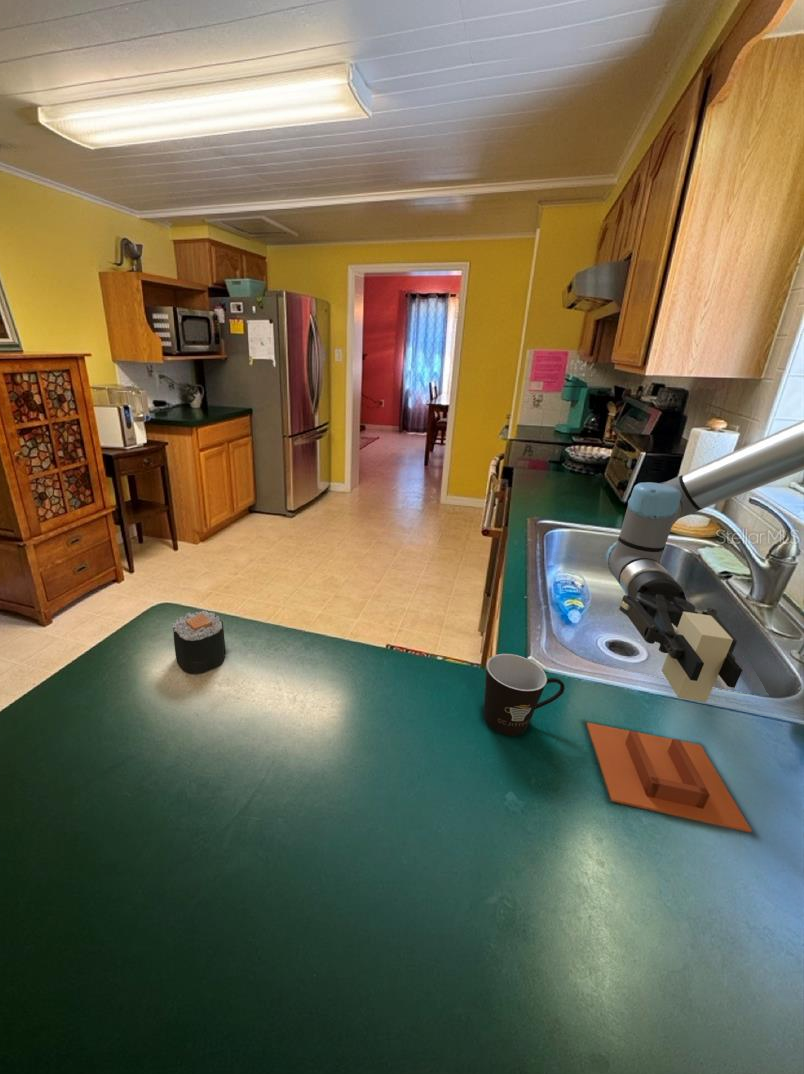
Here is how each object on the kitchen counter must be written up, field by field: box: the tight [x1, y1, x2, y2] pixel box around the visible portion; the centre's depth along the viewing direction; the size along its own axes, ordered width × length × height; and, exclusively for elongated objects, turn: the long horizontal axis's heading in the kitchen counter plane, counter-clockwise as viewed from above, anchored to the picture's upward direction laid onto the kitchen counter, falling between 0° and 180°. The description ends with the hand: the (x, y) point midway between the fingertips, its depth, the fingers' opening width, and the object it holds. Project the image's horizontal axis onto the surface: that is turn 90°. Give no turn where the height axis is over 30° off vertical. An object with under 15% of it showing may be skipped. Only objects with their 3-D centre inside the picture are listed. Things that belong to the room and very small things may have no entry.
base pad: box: [586, 722, 752, 833], centre depth 65 cm, size 16×14×4 cm
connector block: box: [661, 612, 733, 703], centre depth 64 cm, size 4×6×10 cm, turn 167°
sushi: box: [171, 610, 227, 675], centre depth 82 cm, size 8×8×8 cm
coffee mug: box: [483, 653, 565, 737], centre depth 71 cm, size 12×9×10 cm
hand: (715, 674), depth 59 cm, fingers closed on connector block, 3 cm apart
